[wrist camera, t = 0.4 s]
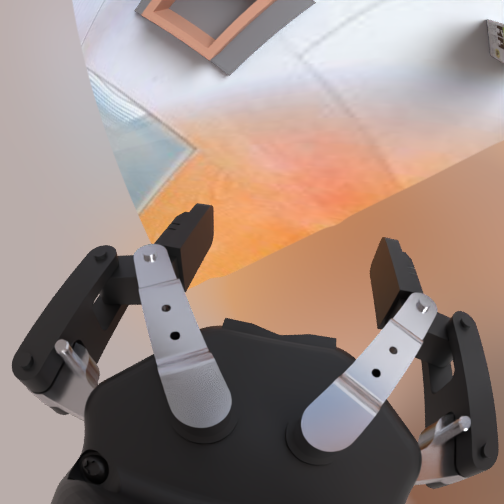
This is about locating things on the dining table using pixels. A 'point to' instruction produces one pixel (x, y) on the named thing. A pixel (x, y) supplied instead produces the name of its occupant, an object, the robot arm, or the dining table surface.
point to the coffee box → (496, 39)
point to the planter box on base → (223, 24)
